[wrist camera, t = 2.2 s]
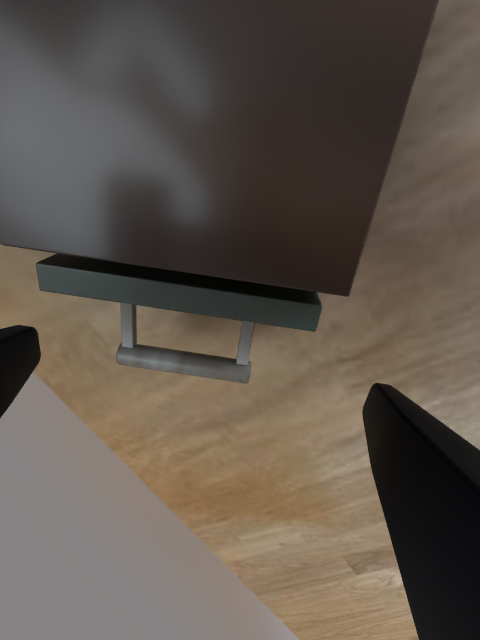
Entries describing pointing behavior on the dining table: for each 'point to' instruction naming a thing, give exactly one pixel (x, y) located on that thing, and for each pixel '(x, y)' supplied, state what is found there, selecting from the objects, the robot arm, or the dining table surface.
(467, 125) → the dining table surface
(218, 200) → the cabinet
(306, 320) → the drawer
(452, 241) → the dining table surface
